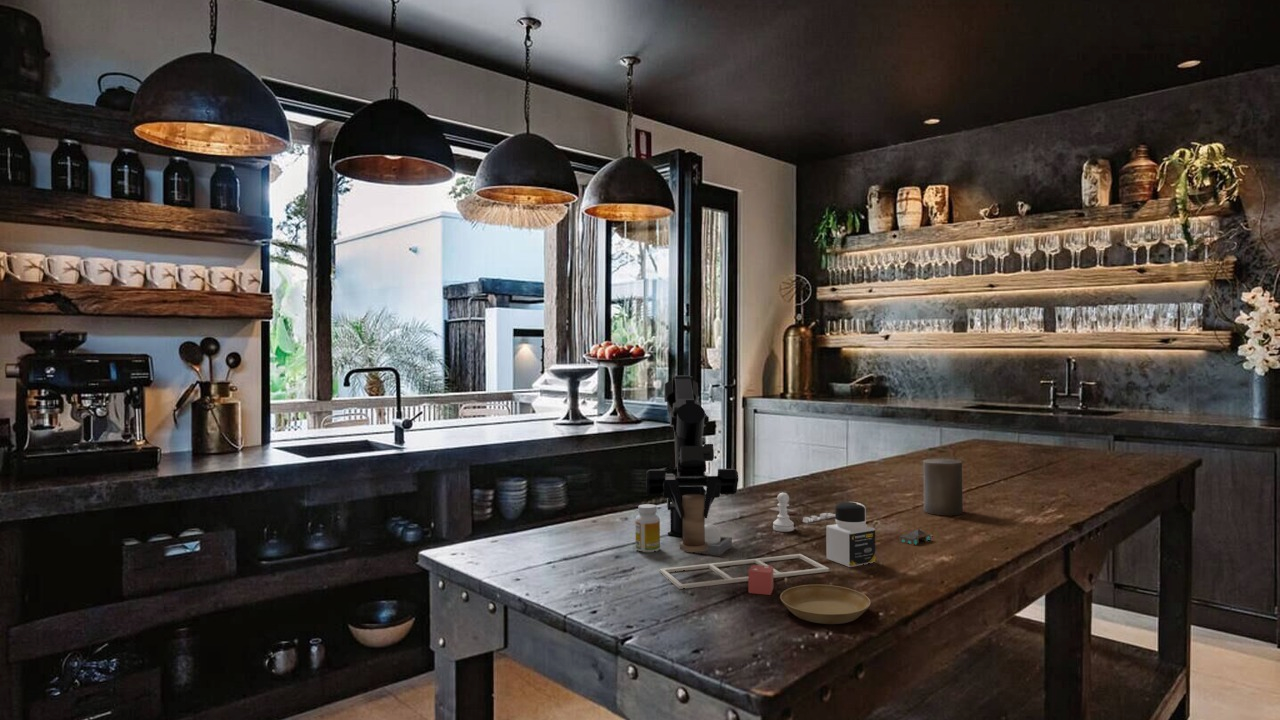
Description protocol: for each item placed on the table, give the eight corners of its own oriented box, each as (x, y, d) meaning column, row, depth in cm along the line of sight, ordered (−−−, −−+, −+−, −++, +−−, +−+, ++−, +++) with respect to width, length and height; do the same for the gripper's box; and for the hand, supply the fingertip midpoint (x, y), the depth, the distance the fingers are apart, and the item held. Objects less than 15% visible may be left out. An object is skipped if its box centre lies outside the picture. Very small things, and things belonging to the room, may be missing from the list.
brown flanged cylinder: (674, 547, 151) (674, 495, 151) (698, 543, 154) (698, 492, 154) (689, 553, 146) (688, 500, 146) (713, 549, 149) (712, 497, 149)
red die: (748, 592, 136) (748, 570, 136) (751, 586, 140) (751, 564, 140) (770, 594, 135) (770, 572, 135) (773, 587, 138) (773, 565, 138)
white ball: (693, 548, 164) (692, 525, 164) (702, 542, 169) (701, 520, 169) (715, 551, 162) (715, 527, 162) (723, 545, 166) (723, 522, 166)
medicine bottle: (849, 567, 151) (849, 508, 150) (825, 559, 157) (825, 502, 157) (876, 562, 154) (876, 504, 154) (851, 554, 160) (851, 498, 160)
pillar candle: (968, 516, 194) (968, 458, 194) (931, 516, 194) (930, 458, 194) (953, 508, 204) (953, 453, 204) (917, 508, 204) (917, 453, 204)
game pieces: (762, 513, 202) (761, 492, 201) (795, 507, 209) (795, 486, 209) (908, 550, 165) (908, 523, 165) (942, 540, 173) (942, 515, 172)
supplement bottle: (663, 547, 167) (663, 504, 166) (654, 554, 162) (653, 509, 162) (641, 545, 169) (641, 502, 169) (631, 551, 164) (631, 507, 164)
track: (679, 589, 138) (679, 585, 138) (659, 572, 149) (659, 569, 149) (829, 571, 148) (829, 568, 148) (800, 556, 159) (800, 553, 159)
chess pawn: (793, 532, 179) (793, 495, 179) (772, 531, 180) (772, 494, 180) (793, 527, 184) (793, 491, 184) (773, 526, 185) (773, 490, 185)
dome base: (684, 551, 164) (684, 542, 164) (698, 542, 171) (698, 533, 171) (719, 555, 160) (719, 546, 160) (731, 546, 167) (731, 537, 167)
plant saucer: (815, 636, 116) (815, 619, 116) (763, 606, 130) (763, 591, 130) (890, 621, 122) (890, 605, 122) (832, 594, 136) (832, 579, 136)
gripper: (645, 430, 154) (647, 494, 143) (736, 429, 154) (745, 493, 143) (645, 463, 162) (647, 526, 151) (732, 462, 162) (739, 525, 151)
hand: (694, 517), depth 149 cm, fingers closed on brown flanged cylinder, 4 cm apart
